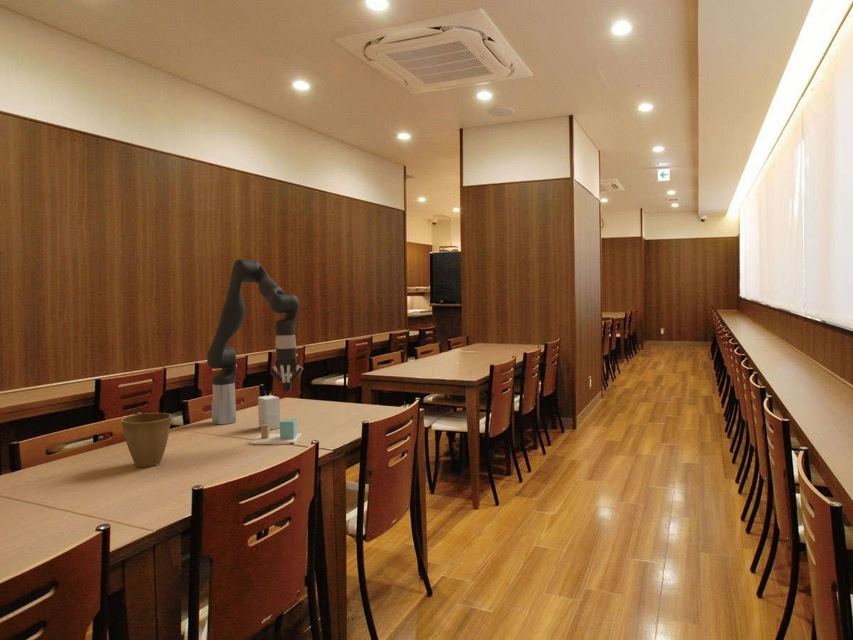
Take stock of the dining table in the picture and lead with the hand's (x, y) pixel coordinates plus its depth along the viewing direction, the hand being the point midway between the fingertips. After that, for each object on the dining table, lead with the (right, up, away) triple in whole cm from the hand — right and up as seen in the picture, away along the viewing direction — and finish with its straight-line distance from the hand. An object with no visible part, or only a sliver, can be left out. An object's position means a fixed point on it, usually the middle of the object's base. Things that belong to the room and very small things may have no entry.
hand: (287, 391), depth 216 cm
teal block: (0, -18, +1) cm, 18 cm away
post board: (-4, -19, +1) cm, 19 cm away
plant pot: (-40, -21, -27) cm, 52 cm away
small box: (-13, -18, +21) cm, 30 cm away
